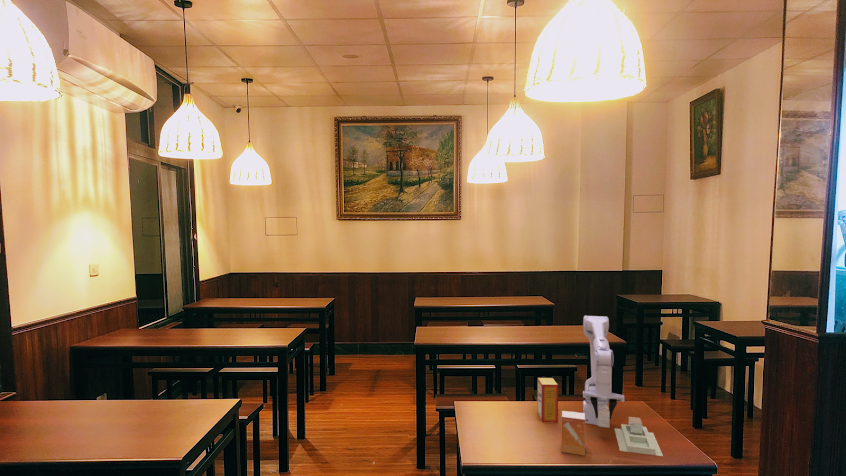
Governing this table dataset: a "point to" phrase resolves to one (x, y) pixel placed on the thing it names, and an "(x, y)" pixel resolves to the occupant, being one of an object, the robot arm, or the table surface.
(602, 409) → the block
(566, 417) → the small box
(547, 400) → the baking soda box
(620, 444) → the cream stepped base
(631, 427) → the block
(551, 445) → the table surface
